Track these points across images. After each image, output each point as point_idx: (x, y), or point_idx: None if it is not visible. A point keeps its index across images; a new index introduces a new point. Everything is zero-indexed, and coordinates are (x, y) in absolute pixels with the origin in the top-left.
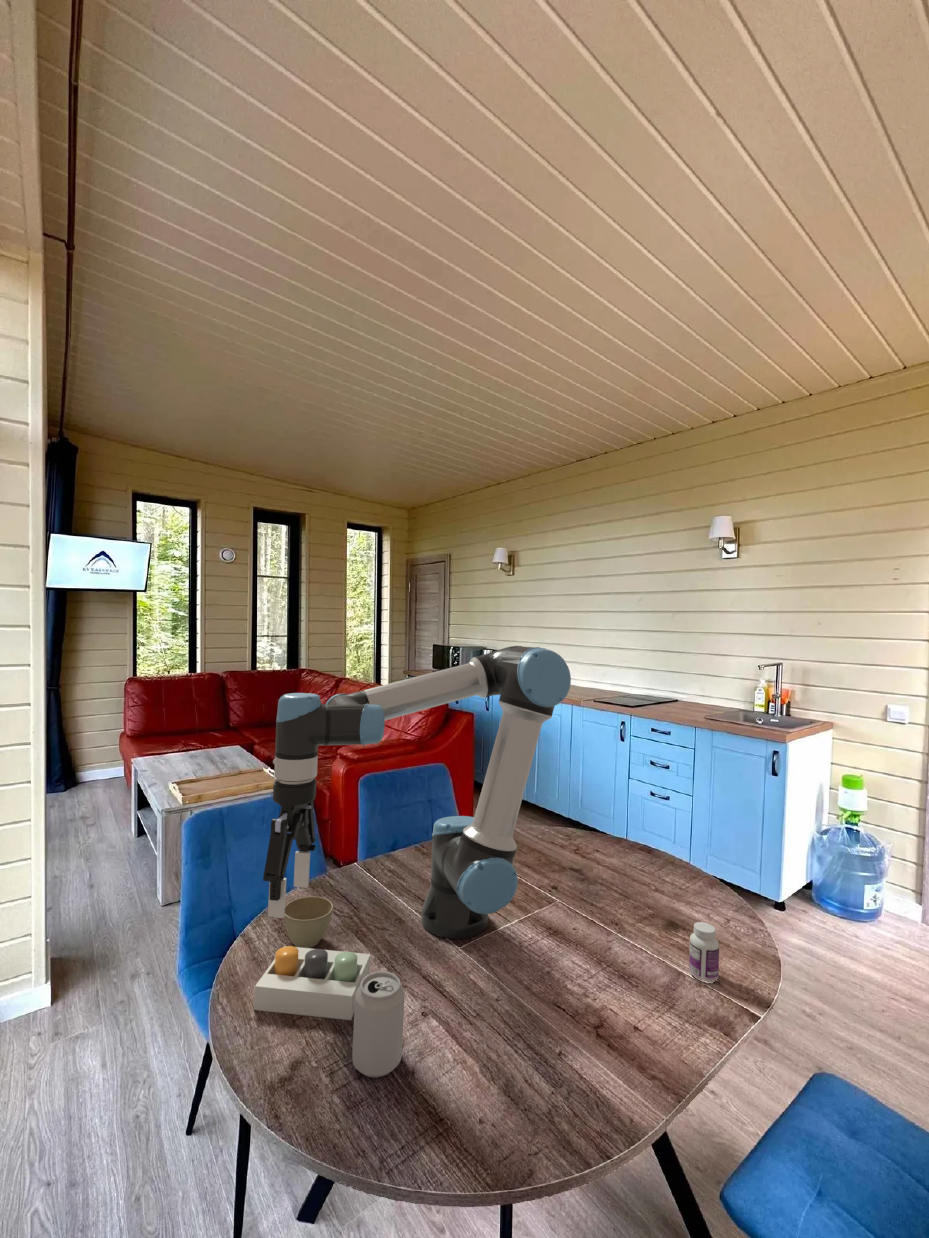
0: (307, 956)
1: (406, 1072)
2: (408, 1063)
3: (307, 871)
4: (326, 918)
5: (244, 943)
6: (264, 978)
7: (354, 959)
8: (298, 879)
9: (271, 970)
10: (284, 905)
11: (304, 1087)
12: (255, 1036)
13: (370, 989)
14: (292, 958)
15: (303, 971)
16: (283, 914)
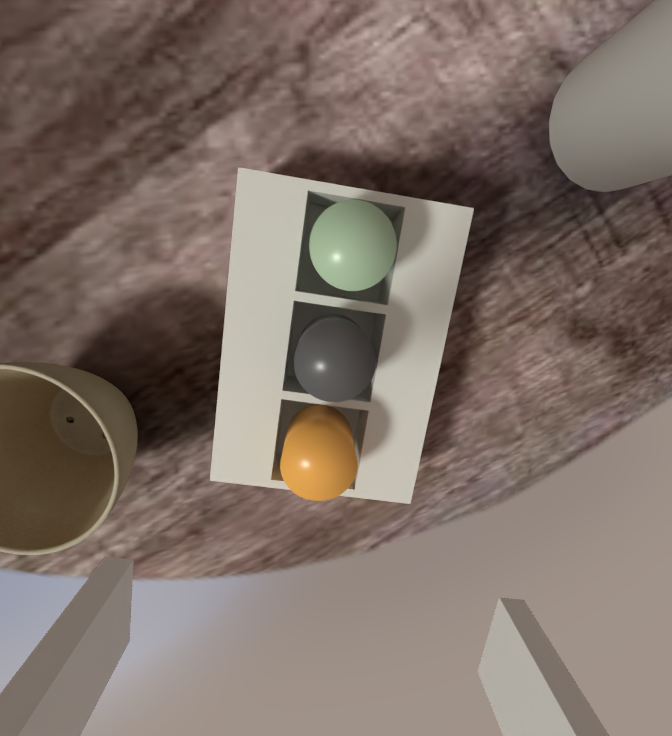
0: (342, 392)
1: None
2: None
3: (61, 672)
4: (64, 376)
5: None
6: (376, 489)
7: (361, 210)
8: (104, 661)
9: None
10: (546, 660)
11: (647, 297)
12: (485, 441)
13: (669, 93)
14: (348, 439)
15: None
16: (528, 614)
